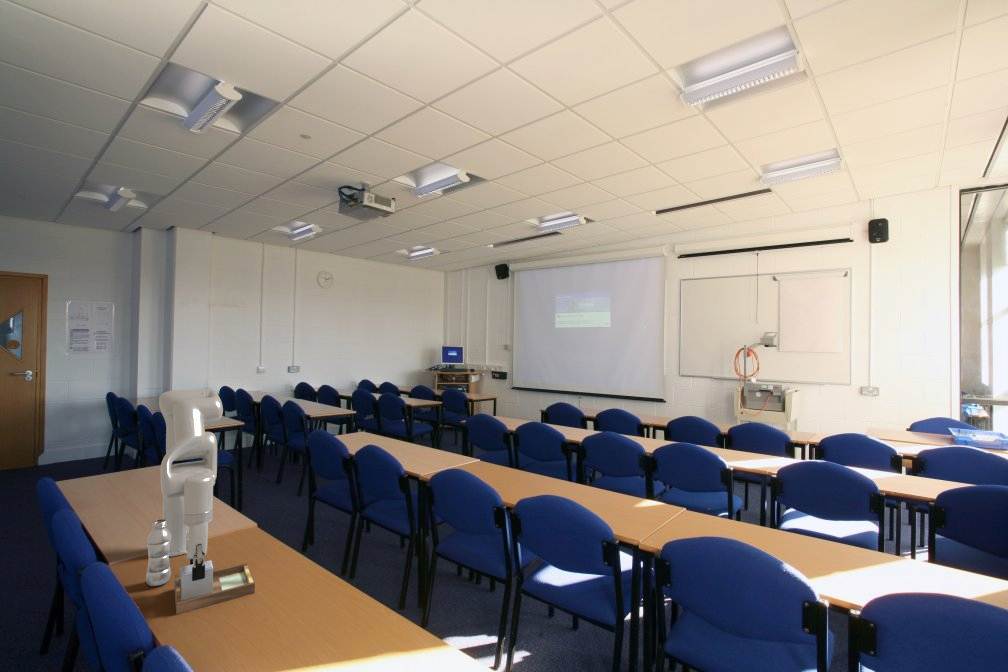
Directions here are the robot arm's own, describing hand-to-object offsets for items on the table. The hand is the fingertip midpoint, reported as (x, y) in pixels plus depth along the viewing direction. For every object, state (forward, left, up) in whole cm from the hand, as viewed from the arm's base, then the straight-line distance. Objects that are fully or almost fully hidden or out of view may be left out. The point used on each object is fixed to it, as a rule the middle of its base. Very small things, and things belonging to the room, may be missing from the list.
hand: (197, 573), depth 144 cm
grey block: (-1, 0, -6) cm, 6 cm away
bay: (-1, +5, -7) cm, 9 cm away
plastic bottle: (-16, -9, -8) cm, 20 cm away
